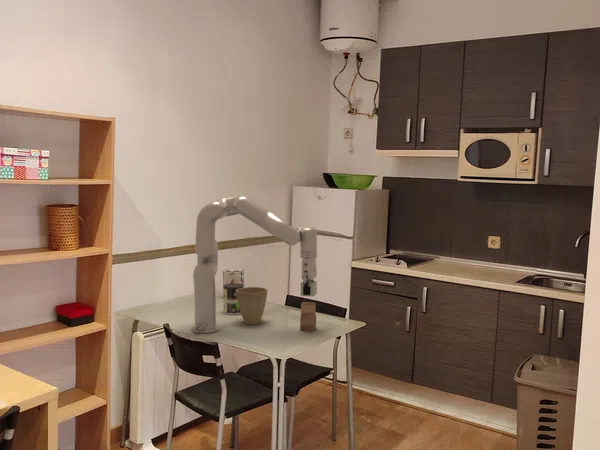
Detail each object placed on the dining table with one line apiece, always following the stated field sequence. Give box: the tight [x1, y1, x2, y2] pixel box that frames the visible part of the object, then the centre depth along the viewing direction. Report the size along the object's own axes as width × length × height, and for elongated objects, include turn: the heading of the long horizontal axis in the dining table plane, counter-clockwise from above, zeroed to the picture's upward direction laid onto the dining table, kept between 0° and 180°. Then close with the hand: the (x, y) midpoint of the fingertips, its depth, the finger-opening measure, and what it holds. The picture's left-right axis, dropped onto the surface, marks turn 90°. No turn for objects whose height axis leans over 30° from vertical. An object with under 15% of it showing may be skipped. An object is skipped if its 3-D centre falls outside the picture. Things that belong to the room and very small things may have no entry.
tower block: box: [300, 301, 317, 319], centre depth 272 cm, size 6×6×6 cm
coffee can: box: [222, 284, 243, 316], centre depth 304 cm, size 10×10×14 cm
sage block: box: [300, 280, 318, 298], centre depth 271 cm, size 6×6×6 cm
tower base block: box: [299, 315, 317, 333], centre depth 273 cm, size 6×6×6 cm
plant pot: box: [236, 286, 268, 325], centre depth 284 cm, size 15×15×16 cm
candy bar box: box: [222, 268, 245, 300], centre depth 336 cm, size 11×5×16 cm, turn 81°
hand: (308, 292), depth 271 cm, fingers closed on sage block, 6 cm apart
